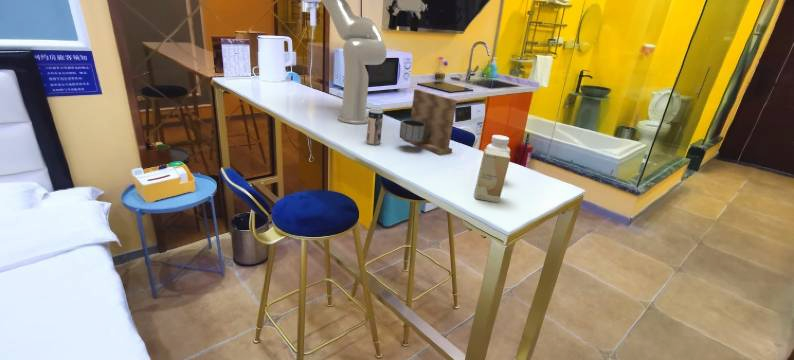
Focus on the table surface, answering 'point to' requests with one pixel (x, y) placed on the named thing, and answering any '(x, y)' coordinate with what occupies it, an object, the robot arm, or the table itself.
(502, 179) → the skincare box
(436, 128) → the cup bracket
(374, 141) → the beer can
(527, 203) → the table surface
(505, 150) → the supplement bottle
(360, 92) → the robot arm
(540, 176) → the table surface
